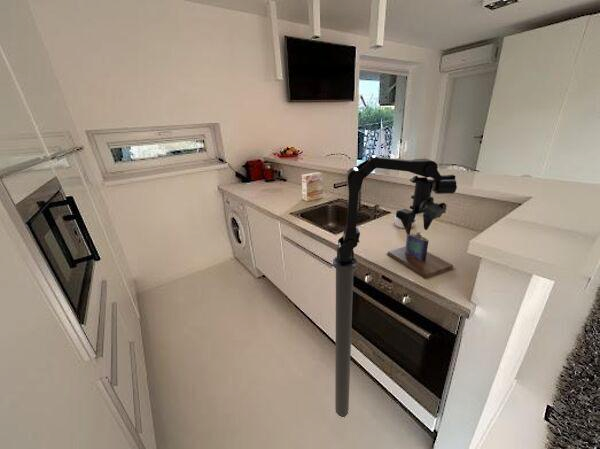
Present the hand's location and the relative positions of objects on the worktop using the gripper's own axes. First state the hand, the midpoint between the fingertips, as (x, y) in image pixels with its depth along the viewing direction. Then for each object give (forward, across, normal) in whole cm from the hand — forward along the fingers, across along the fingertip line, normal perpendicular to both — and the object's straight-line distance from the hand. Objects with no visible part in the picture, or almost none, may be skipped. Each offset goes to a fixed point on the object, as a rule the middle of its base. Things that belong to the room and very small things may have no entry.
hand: (417, 232), depth 97 cm
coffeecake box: (+13, +4, +104) cm, 105 cm away
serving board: (+13, +1, -2) cm, 13 cm away
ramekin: (+13, +24, +29) cm, 40 cm away
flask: (+11, 0, 0) cm, 11 cm away
